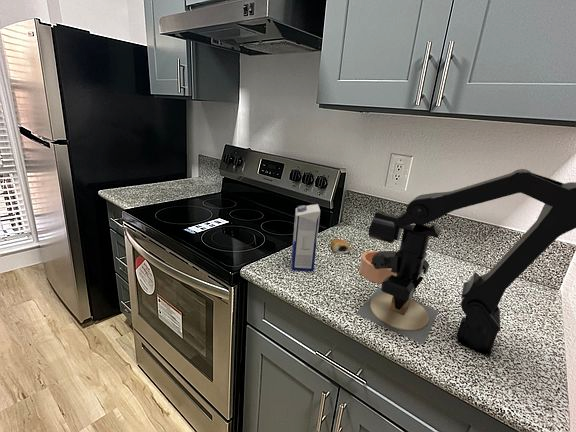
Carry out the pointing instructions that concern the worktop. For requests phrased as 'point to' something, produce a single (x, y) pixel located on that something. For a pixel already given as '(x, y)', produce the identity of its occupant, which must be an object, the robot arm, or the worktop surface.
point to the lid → (399, 313)
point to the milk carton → (305, 237)
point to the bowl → (373, 269)
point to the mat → (414, 335)
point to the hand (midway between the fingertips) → (400, 305)
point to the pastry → (340, 246)
